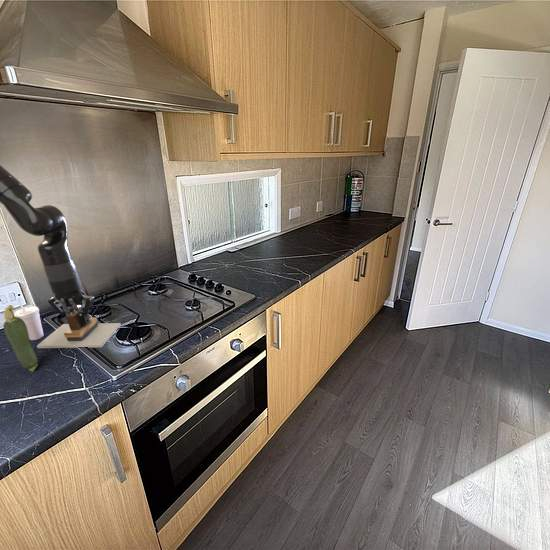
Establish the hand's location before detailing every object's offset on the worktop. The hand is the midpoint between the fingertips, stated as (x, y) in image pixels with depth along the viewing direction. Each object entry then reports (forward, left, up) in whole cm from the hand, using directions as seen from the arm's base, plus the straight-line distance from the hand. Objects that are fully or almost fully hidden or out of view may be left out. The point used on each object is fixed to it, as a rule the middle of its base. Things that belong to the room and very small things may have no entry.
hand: (80, 324), depth 93 cm
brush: (0, 0, -3) cm, 3 cm away
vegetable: (-5, -15, -4) cm, 17 cm away
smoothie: (-16, 0, -4) cm, 16 cm away
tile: (-1, 0, -4) cm, 4 cm away
